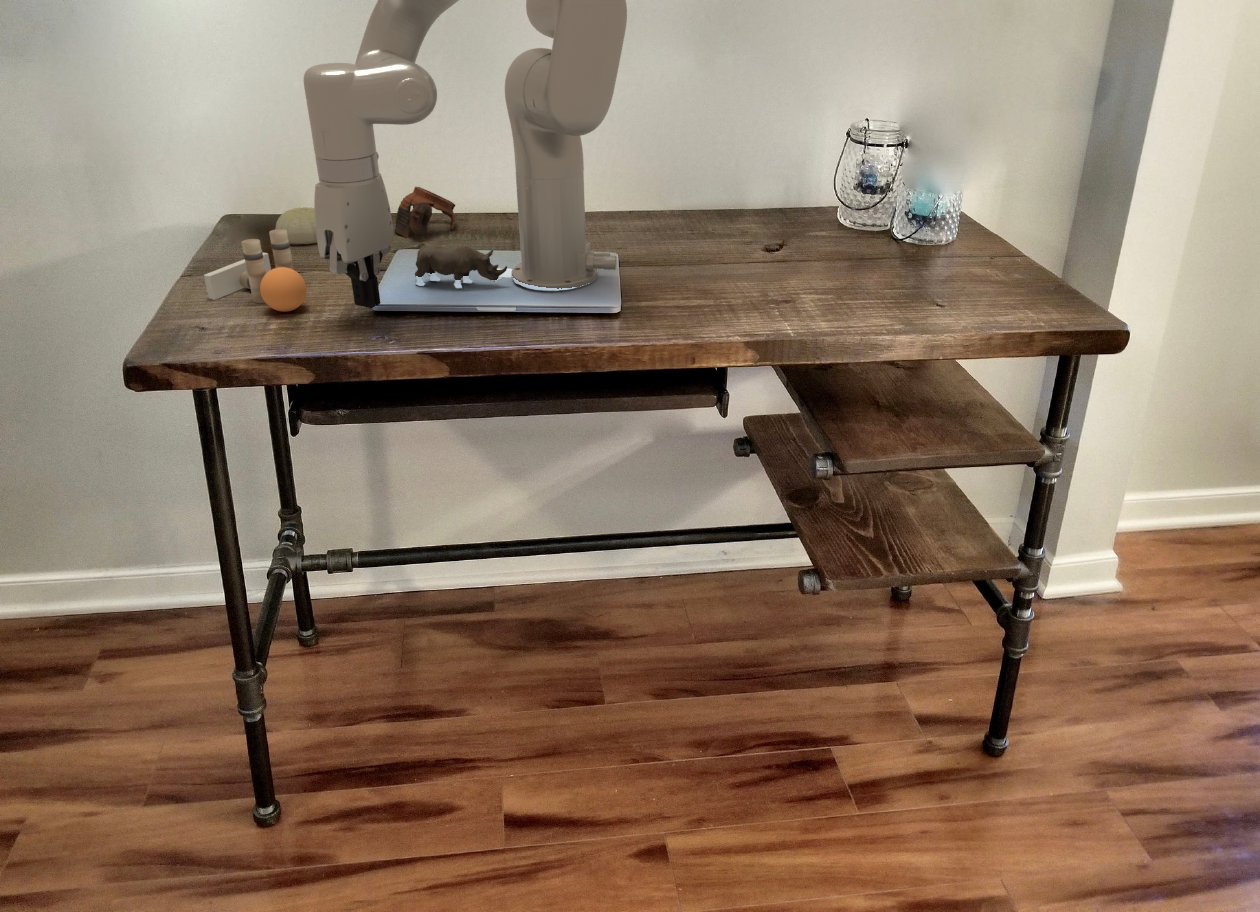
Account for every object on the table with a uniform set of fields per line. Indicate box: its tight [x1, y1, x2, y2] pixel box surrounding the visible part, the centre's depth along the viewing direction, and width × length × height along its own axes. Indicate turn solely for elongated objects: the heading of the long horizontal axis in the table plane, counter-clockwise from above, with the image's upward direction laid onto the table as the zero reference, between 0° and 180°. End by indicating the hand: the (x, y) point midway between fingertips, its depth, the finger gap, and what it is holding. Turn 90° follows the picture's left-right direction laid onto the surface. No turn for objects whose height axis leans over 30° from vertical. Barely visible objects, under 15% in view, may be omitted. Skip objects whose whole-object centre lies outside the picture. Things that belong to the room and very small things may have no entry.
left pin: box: [240, 238, 266, 304], centre depth 144 cm, size 2×2×8 cm
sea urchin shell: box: [274, 206, 318, 245], centre depth 170 cm, size 9×8×8 cm
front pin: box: [240, 271, 251, 290], centre depth 148 cm, size 2×2×8 cm
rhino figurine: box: [414, 244, 508, 281], centre depth 149 cm, size 4×14×6 cm, turn 81°
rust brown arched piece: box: [394, 186, 456, 239], centre depth 171 cm, size 12×10×8 cm
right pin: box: [268, 229, 295, 270], centre depth 148 cm, size 2×2×8 cm
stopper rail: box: [203, 251, 272, 301], centre depth 150 cm, size 1×11×4 cm, turn 151°
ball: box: [260, 267, 308, 313], centre depth 141 cm, size 6×6×6 cm
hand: (367, 304), depth 140 cm, fingers closed
